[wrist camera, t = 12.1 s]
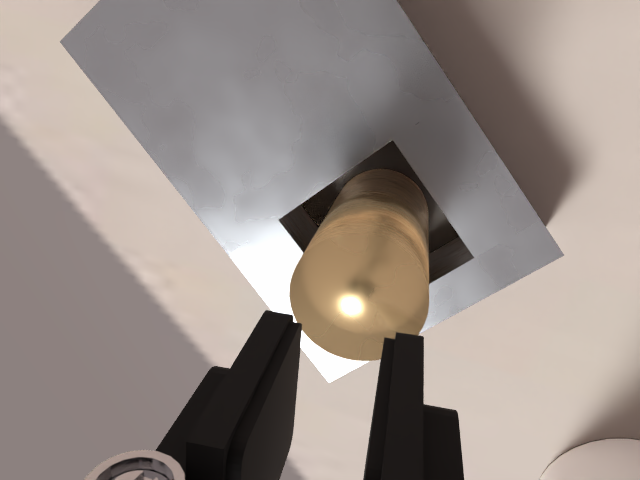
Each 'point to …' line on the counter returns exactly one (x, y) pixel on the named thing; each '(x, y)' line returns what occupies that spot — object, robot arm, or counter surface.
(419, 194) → the tan cylindrical peg
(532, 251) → the jig plate
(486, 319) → the counter surface
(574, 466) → the cylindrical container
